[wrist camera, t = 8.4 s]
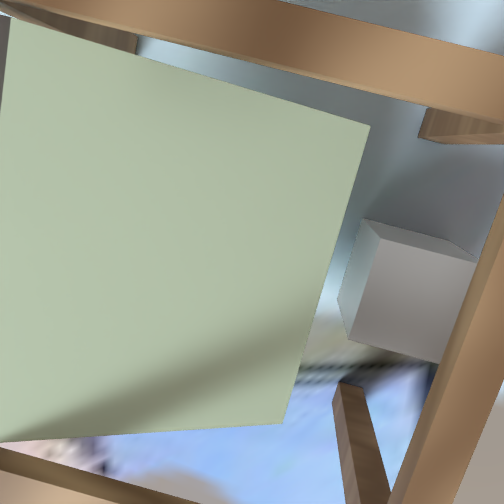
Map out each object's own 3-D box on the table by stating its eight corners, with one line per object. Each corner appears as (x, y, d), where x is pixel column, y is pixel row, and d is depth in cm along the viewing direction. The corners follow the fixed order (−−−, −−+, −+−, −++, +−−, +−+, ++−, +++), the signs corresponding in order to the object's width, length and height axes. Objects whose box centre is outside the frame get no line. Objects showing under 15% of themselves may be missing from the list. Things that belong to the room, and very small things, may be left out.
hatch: (-48, 427, 17) (-52, 446, 16) (-4, 16, 14) (-6, 12, 13) (272, 410, 23) (282, 423, 22) (356, 123, 20) (370, 126, 19)
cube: (452, 367, 22) (419, 320, 28) (491, 266, 21) (448, 240, 27) (348, 339, 22) (336, 299, 28) (380, 238, 21) (361, 217, 27)
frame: (62, 329, 30) (-118, 473, 17) (111, 30, 26) (-80, -88, 13) (355, 409, 29) (402, 621, 16) (454, 116, 25) (626, 85, 12)
